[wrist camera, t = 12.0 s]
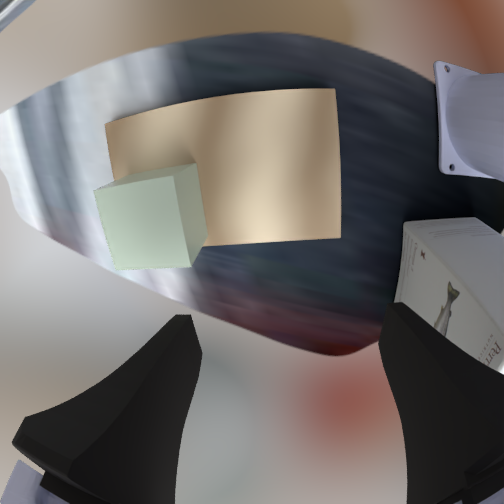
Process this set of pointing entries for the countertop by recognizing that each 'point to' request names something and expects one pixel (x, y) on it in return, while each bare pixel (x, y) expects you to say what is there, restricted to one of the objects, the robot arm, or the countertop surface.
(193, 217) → the pale green block
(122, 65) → the countertop surface
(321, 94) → the board
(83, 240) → the countertop surface
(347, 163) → the countertop surface
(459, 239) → the supplement box
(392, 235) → the countertop surface
